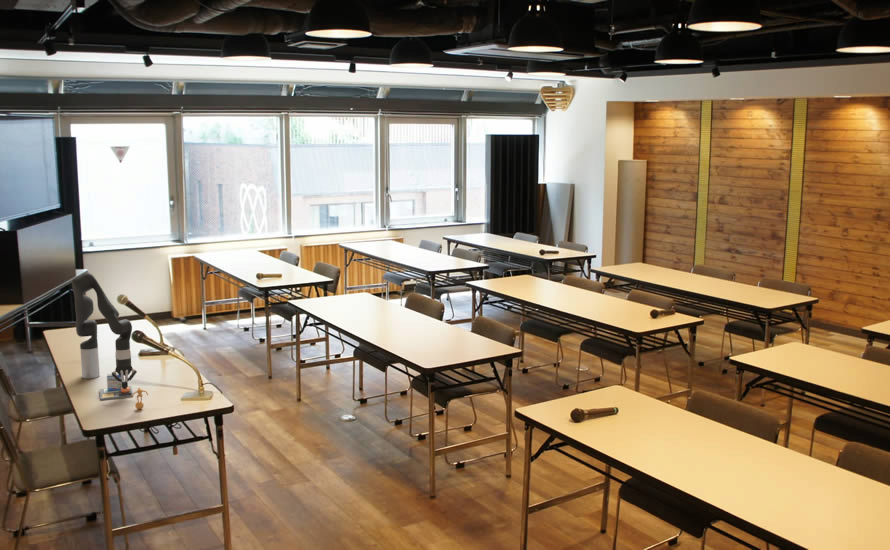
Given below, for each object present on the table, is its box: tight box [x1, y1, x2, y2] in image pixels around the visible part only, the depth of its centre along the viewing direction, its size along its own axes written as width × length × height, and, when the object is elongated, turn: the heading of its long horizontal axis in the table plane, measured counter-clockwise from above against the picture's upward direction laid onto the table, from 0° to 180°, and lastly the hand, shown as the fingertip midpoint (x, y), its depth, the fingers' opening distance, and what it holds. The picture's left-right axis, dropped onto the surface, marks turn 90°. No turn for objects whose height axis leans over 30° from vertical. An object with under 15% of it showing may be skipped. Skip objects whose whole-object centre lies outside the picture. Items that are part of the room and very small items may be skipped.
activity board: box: [99, 385, 134, 401], centre depth 420 cm, size 17×16×2 cm
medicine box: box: [106, 372, 122, 391], centre depth 423 cm, size 8×4×9 cm, turn 109°
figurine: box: [130, 387, 149, 410], centre depth 395 cm, size 8×6×12 cm
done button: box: [121, 387, 130, 393], centre depth 417 cm, size 4×4×2 cm
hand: (125, 388), depth 417 cm, fingers closed
